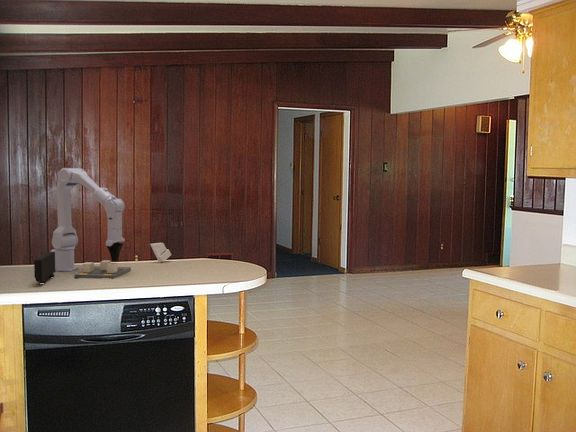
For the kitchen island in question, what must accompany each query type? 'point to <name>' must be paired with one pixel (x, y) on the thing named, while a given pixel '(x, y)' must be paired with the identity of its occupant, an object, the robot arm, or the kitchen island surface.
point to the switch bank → (102, 273)
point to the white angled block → (160, 251)
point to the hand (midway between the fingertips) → (114, 261)
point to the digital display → (44, 267)
